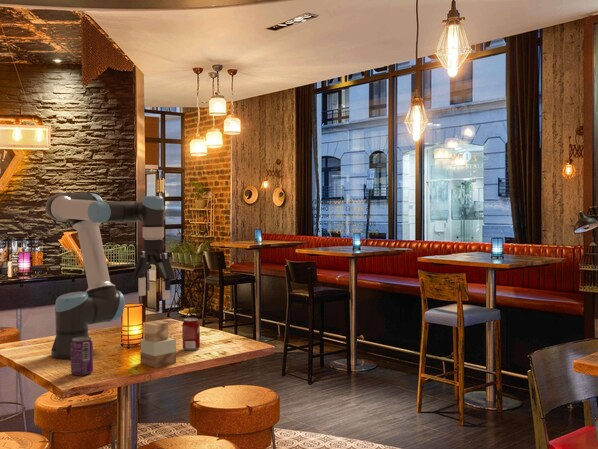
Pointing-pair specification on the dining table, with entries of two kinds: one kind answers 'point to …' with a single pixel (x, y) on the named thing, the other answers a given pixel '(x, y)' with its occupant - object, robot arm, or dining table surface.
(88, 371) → the beverage can
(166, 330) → the oak cube
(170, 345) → the tower top block
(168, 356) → the tower base block
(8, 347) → the dining table surface
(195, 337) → the soda can
